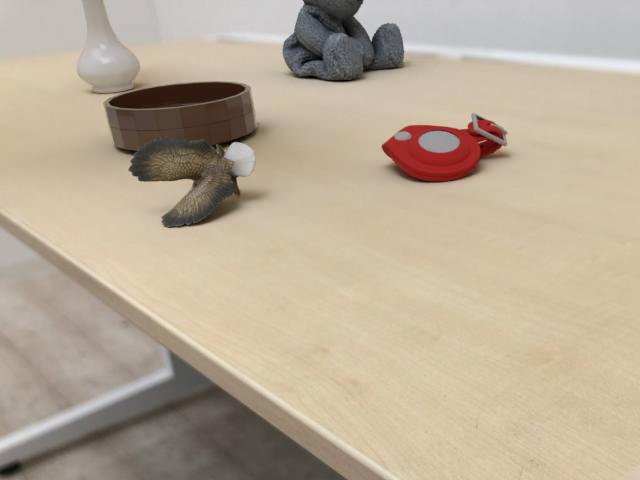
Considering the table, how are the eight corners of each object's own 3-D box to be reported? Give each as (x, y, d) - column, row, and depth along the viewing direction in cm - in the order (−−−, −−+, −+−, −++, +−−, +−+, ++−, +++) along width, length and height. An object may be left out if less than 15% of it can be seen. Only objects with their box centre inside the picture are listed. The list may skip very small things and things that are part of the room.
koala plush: (348, 84, 120) (332, -62, 111) (260, 78, 129) (239, -57, 120) (412, 65, 133) (403, -67, 124) (328, 61, 142) (314, -62, 133)
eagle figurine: (189, 177, 74) (114, 188, 66) (218, 112, 71) (143, 115, 63) (247, 228, 73) (178, 245, 65) (280, 164, 70) (211, 174, 62)
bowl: (83, 150, 91) (71, 105, 89) (185, 119, 104) (176, 79, 102) (190, 161, 84) (180, 113, 82) (284, 126, 97) (278, 83, 95)
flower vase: (60, 105, 117) (7, -88, 106) (83, 84, 134) (40, -86, 122) (151, 96, 120) (110, -93, 108) (164, 77, 136) (129, -90, 124)
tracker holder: (457, 175, 70) (363, 140, 73) (455, 215, 73) (364, 180, 77) (519, 114, 78) (431, 85, 81) (514, 153, 81) (429, 124, 84)
